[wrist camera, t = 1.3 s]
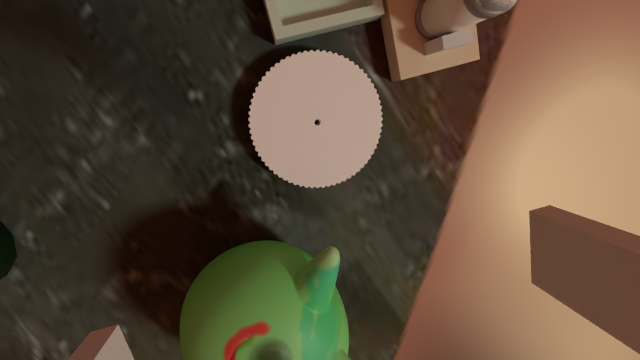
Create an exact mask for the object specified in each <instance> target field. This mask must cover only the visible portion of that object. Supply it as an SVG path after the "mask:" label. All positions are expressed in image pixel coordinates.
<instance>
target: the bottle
mask: <svg viewBox="0 0 640 360" xmlns="http://www.w3.org/2000/svg"><path fill="white" fill-rule="evenodd" d="M16 257H17V254H16V249H15V244H14V239H13V236H12V235H11V234H10V232H9V231H8V230H7V229H6V228H5V227H4V226H3V225H2V224H1V223H0V279H2V278H3V277H4V276H6V275H7V274H8V273H9V271H10V269H11V267H12V265H13V263H14V261H15V259H16Z"/></svg>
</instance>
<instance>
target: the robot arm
mask: <svg viewBox="0 0 640 360" xmlns="http://www.w3.org/2000/svg"><path fill="white" fill-rule="evenodd" d="M529 214H530V244H531V278H532V283H533V284H534V285H536V286H537V287H539V288H541V289H542V290H544V291H545V292H546V293H548V294H549V295H551V296H553V297H554V298H556V299H557V300H559V301H560V302H562V303H563V304H565V305H566V306H568V307H569V308H571V309H572V310H574V311H575V312H577V313H578V314H580V315H581V316H583V317H584V318H586V319H587V320H589V321H590V322H592V323H593V324H595V325H596V326H598V327H600V328H601V329H603V330H604V331H605V332H607V333H609V334H610V335H612V336H613V337H615V338H616V339H618V340H619V341H621V342H622V343H624V344H625V345H627V346H628V347H630V348H631V349H633V350H634V351H636V352H637V353H639V354H640V236H638V235H634V234H632V233H629V232H626V231H623V230H620V229H617V228H614V227H611V226H609V225H605V224H603V223H600V222H597V221H594V220H591V219H588V218H585V217H582V216H579V215H576V214H573V213H571V212H568V211H565V210H562V209H559V208H556V207H553V206H550V205H549V206H546V207H542V208H538V209H535V210H532V211H529ZM68 360H134V358H133V356H132V354H131V352H130V349H129V347H128V345H127V343H126V340H125V338H124V336H123V334H122V332H121V329H120V327H119V325H115V326H111V327H107V328H104V329H100V330H96V331H93V332H90V333H89V334H88V336H87V337H86V338H85V339H84V341H83V342H82V343H81V344H80V346H79V347H78V348H77V349H76V351H75V352H74V353H73V354H72V356H71V357H70V358H69V359H68Z"/></svg>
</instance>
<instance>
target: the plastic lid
mask: <svg viewBox="0 0 640 360" xmlns="http://www.w3.org/2000/svg"><path fill="white" fill-rule="evenodd" d="M370 81H371V79H370V78H367V74H366V73H365V74H364V73H363V70H362V69H359V66H358V65H354V62H353V61H351V62H350V61H349V59H348V58H346V59H345V58H343V56H342V55H341V56H338V54H337V53H335V54H332V52H330V51H329V52H328V53H326V51H324V50H323V51H322V52H320V51H319V50H316V51H315V52H314V51H313V50H310V51H309V52H307V51H304V52H303V53H301V52H298V53H297V55H295V54H292V55H291V57H289V56H287V57H286V58H285V60H283V59H282V60H280V63H276V64H275V67H271V68H270V71H269V72H268V71H267V72H266V76H263V77H262V81H261V82H260V81H259V83H258V85H259V86H258V87H256V88H255V90H256V92H255V93H253V96H254V97H253V99H251V102H252V105H250V107H249V108H250V109H251V111H250V112H249V115H250V118H248V121H250V124H249V127H250V128H251V130H250V131H249V132H250V134H252V136H251V140H253V145H254V146H255V150H256V151H258V156H259V157H260V156H261V160H262V162H263V161H264V162H265V165H266V166H269V169H270V170H273V173H274V174H278V177H280V178H281V177H282V178H283V180H285V181H286V180H288V182H289V183H291V182H293V183H294V185H297V184H299V186H301V187H302V186H305V187H306V188H307V187H308V186H310V187H311V188H313V187H316V188H319V187H322V188H324V187H325V186H328V187H330V185H332V184H333V185H336V183H341V181H346V179H347V178H351V176H352V175H355V174H356V172H359V171H360V168H363V167H364V164H365V163H366V164H367V162H368V161H367V160H368V159H370V158H371V154H373V153H374V149H376V148H377V147H376V144H378V142H379V141H378V138H380V135H379V134H380V132H381V131H382V130H381V127H382V124H381V121H382V120H383V118H381V115H382V112H381V109H382V107H381V106H380V103H381V102H380V100H378V97H379V95H378V94H376V91H377V90H376V89H374V84H373V83H372V84H371V82H370ZM315 120H317V121H318V122H317V124H315Z"/></svg>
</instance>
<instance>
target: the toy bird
mask: <svg viewBox="0 0 640 360" xmlns="http://www.w3.org/2000/svg"><path fill="white" fill-rule="evenodd" d="M339 264H340V254H339V251H338V250H337V248H336V247H334V246H330V247H327V248H325V249H324V250H323V251H321V252H320V253H319V254H318V255H317V256H315V257H314V258H313V257H312V256H310V255H309V254H308V253H306V252H305V251H303V250H302V249H300V248H298V247H296V246H294V245H291V244H288V243H285V242H280V241H272V240H262V241H253V242H248V243H245V244H241V245H238V246H236V247H233V248H231V249H229V250H227V251H225V252H224V253H222V254H221V255H219V256H218V257H216V258H215V259H214V260H212V261H211V262H210V263H209V264H208V265H207V266H206V267H205V268H204V269H203V270H202V271H201V272H200V273H199V275H198V276H197V277H196V278H195V280H194V281H193V283H192V285H191V286H190V288H189V290H188V292H187V294H186V297H185V300H184V303H183V306H182V310H181V316H180V344H181V350H182V355H183V359H184V360H351V359H350V358H349V357H348V348H349V330H348V322H347V317H346V312H345V309H344V305H343V302H342V300H341V297H340V295H339V292H338V290H337V288H336V286H335V283H336V279H337V275H338V270H339Z"/></svg>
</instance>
